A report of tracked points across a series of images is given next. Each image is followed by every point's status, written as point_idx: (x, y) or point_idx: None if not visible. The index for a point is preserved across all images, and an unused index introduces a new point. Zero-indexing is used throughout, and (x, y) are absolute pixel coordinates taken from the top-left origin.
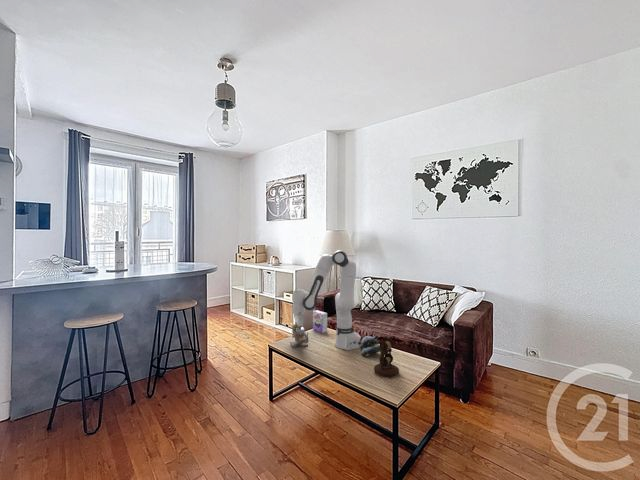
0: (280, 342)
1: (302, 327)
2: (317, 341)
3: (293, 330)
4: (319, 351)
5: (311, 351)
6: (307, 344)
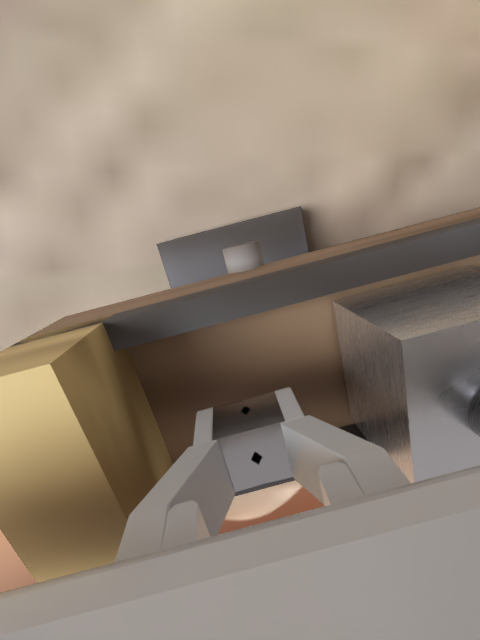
0: None
1: (415, 347)
2: (110, 78)
3: (259, 488)
4: (450, 53)
5: (431, 160)
6: (293, 213)
